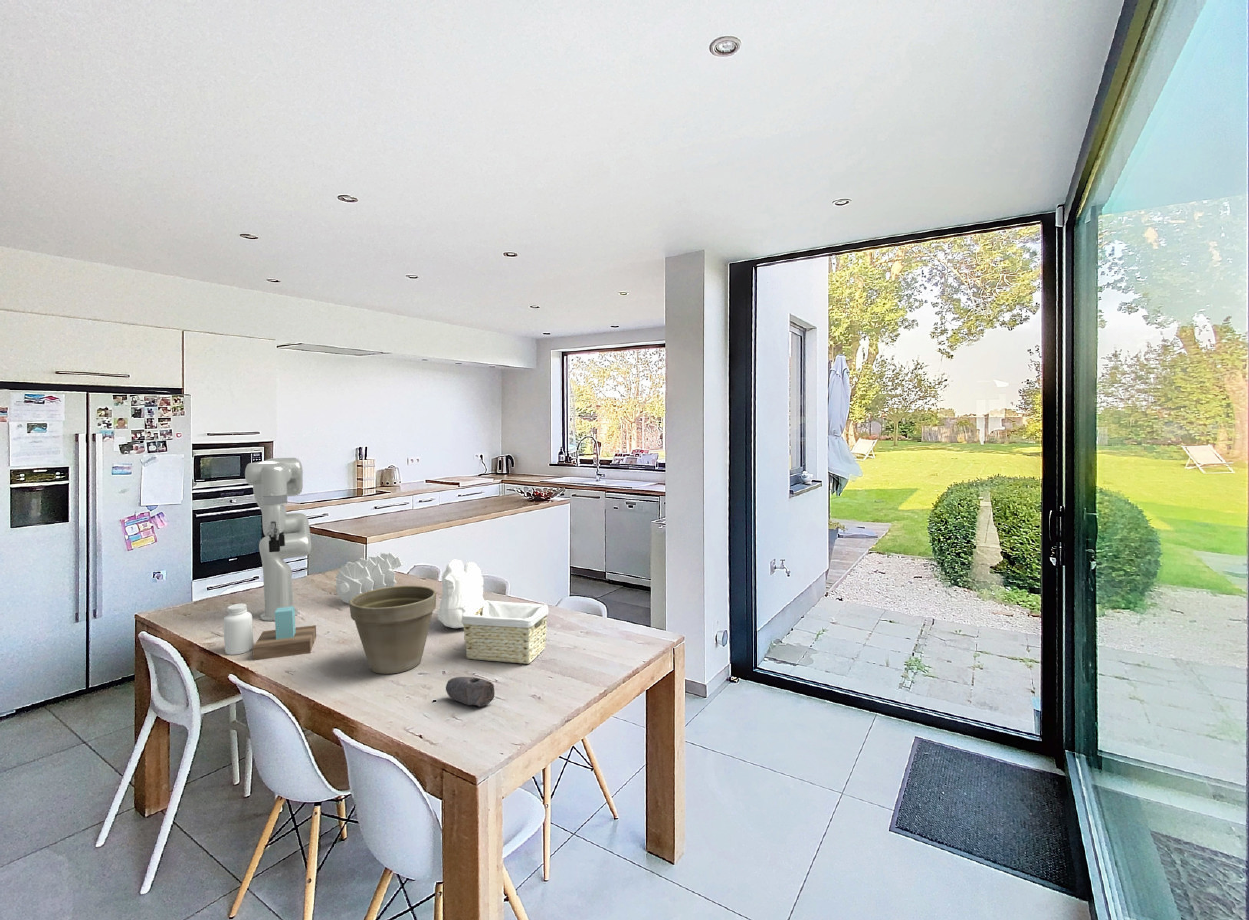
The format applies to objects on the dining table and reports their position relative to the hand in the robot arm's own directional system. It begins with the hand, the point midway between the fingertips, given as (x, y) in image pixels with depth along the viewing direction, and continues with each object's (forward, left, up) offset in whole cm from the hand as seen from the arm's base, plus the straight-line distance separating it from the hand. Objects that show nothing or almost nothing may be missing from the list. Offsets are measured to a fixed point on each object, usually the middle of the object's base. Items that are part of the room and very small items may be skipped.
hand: (277, 548), depth 210 cm
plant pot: (+44, +38, -31) cm, 66 cm away
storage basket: (+48, +71, -31) cm, 91 cm away
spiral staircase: (-34, +27, -31) cm, 53 cm away
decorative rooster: (+13, +63, -31) cm, 71 cm away
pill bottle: (+13, -10, -31) cm, 35 cm away
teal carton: (+16, +4, -26) cm, 31 cm away
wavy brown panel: (+16, +4, -30) cm, 34 cm away
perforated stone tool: (+78, +56, -31) cm, 101 cm away
